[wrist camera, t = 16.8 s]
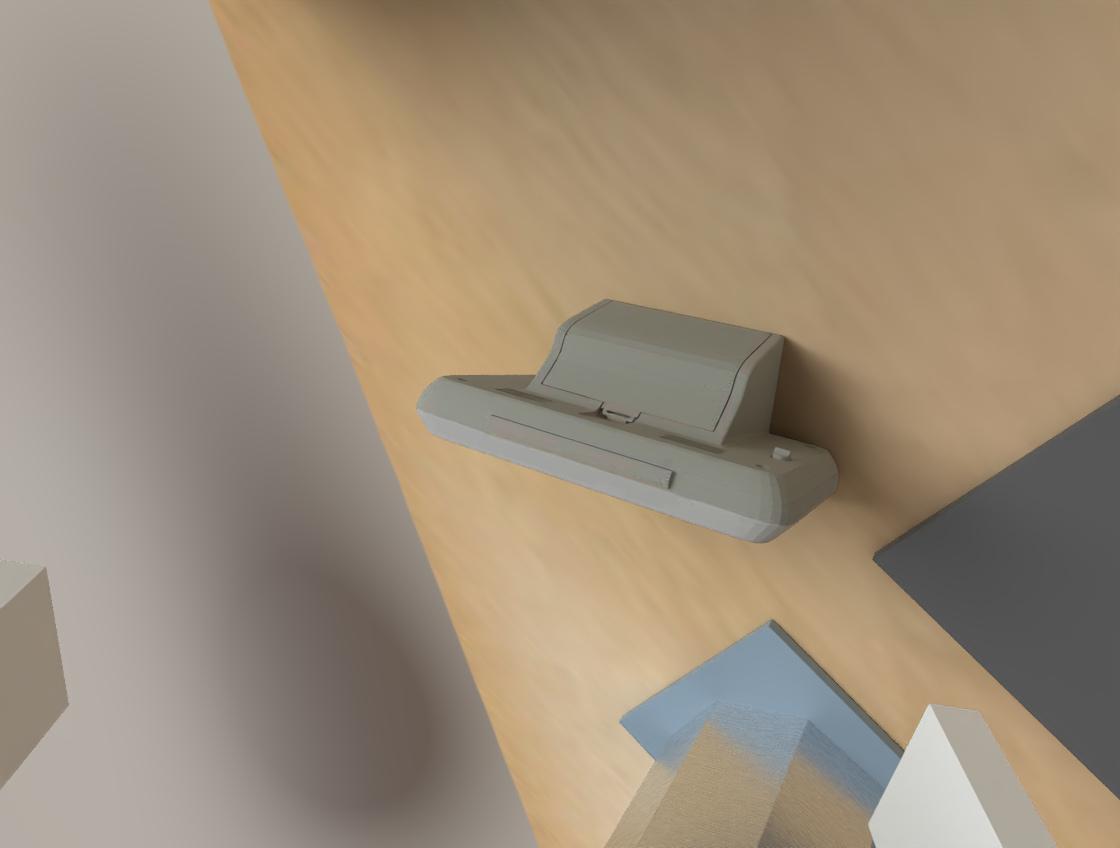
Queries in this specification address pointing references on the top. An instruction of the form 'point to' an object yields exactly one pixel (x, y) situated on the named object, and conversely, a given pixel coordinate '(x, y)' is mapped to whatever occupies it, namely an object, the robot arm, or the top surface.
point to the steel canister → (750, 787)
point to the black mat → (1036, 583)
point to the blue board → (767, 699)
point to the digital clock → (648, 419)
